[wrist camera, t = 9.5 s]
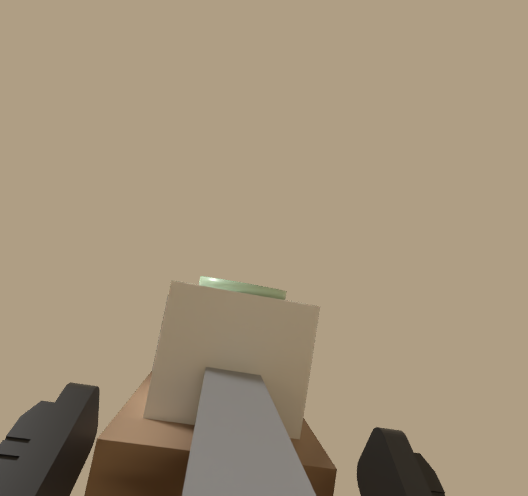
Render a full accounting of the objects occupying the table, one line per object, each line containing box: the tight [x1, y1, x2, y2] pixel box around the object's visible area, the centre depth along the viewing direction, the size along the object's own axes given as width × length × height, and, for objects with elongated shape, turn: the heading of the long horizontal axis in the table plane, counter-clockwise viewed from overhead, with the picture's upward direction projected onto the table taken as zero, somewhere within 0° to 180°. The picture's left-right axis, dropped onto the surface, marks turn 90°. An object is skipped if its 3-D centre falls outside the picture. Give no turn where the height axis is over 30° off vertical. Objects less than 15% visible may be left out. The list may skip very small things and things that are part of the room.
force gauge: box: [143, 276, 320, 496], centre depth 15 cm, size 7×18×6 cm, turn 6°
